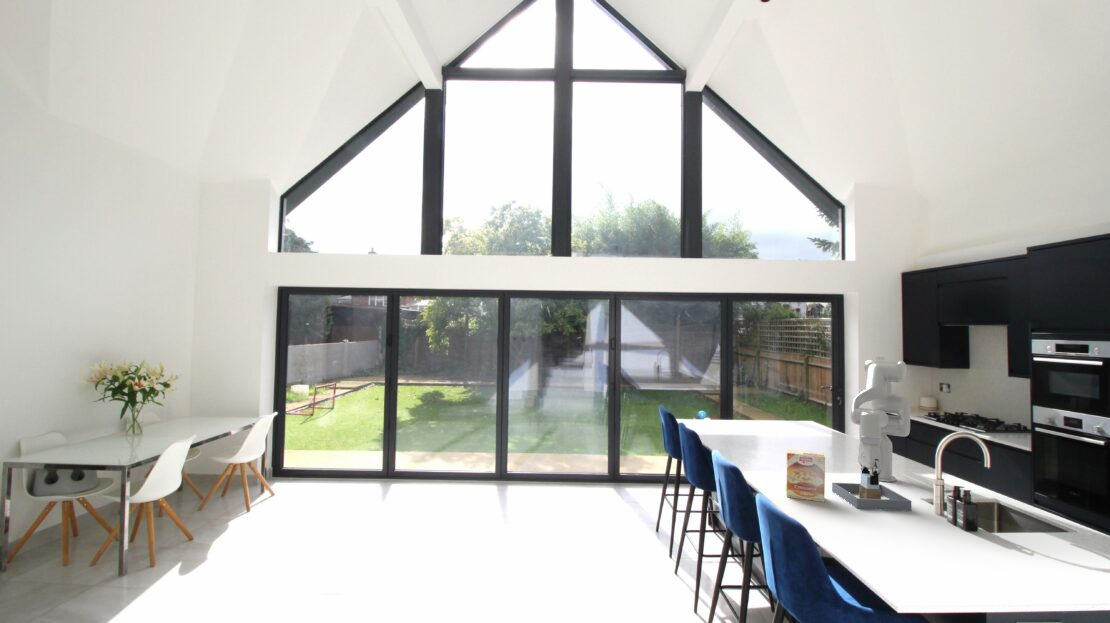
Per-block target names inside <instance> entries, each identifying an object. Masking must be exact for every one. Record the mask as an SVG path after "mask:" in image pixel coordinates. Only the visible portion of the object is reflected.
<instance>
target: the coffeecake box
mask: <svg viewBox="0 0 1110 623" xmlns="http://www.w3.org/2000/svg"><path fill="white" fill-rule="evenodd" d="M785 465H786V466H785V467H786V472H785V477H786V478H785V479H786V480H785V495H786V498H790V497H791V499H798V500H805V499H806V500H807V501H812V500H813V502H820V501H821V503H824V502H825V485H826V484H825V483H826V479H825V478H826V476H825V475H826V456H825V454H824V453H822V452H812V451H803V450H793V449H786V464H785ZM806 500H805V501H806Z"/></svg>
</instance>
